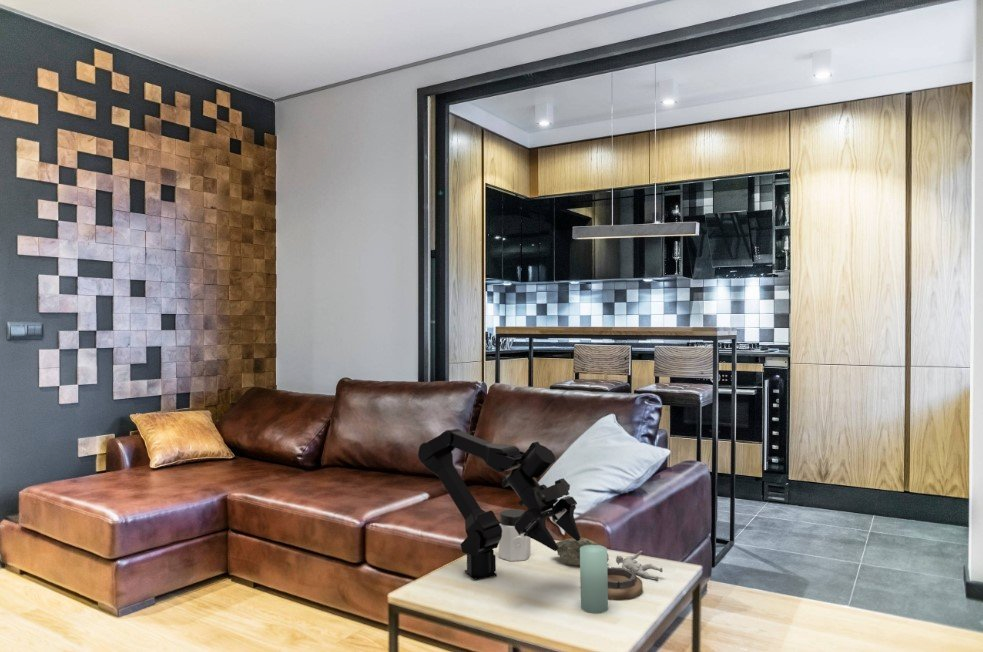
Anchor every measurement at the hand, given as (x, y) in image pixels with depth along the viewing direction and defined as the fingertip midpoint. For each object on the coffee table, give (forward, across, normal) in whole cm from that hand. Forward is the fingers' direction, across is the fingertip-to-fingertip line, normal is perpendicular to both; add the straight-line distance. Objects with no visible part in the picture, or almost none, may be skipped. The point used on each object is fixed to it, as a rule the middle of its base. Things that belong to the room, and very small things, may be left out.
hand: (568, 544), depth 152 cm
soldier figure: (+13, +24, +6) cm, 28 cm away
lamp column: (+14, 0, +4) cm, 14 cm away
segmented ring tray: (+12, +12, +6) cm, 18 cm away
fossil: (+1, +23, +18) cm, 29 cm away
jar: (-11, +17, +29) cm, 35 cm away
